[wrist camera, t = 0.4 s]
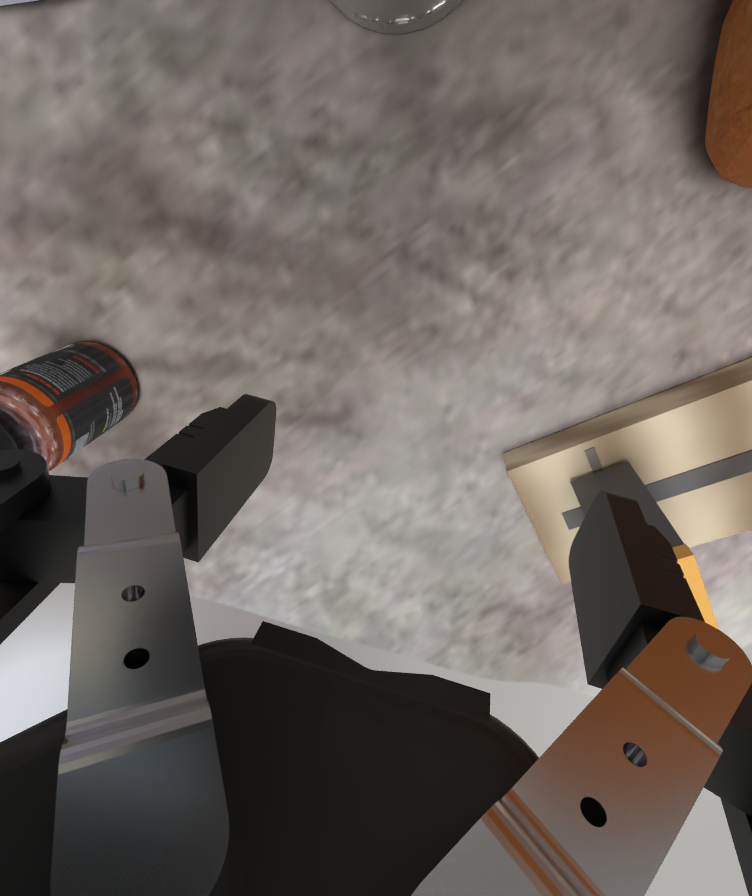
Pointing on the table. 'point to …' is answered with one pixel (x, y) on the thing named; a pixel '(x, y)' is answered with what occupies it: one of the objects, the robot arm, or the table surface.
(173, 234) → the table surface
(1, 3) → the soap bottle
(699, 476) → the grooved wooden slider track
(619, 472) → the fader knob
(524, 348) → the table surface
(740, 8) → the bread
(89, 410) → the supplement bottle
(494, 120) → the table surface
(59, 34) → the table surface
